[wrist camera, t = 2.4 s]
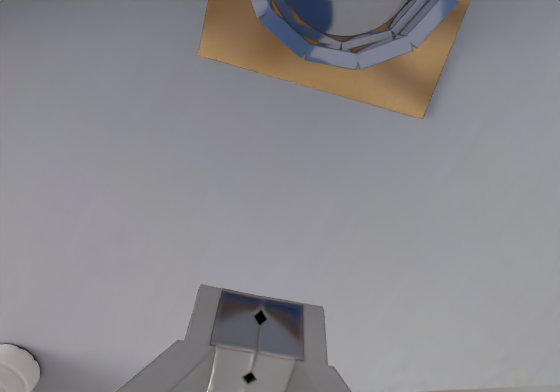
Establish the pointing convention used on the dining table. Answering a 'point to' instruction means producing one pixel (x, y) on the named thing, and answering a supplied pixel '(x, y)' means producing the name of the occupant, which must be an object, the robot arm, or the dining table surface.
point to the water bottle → (17, 369)
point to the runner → (345, 82)
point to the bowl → (352, 28)
